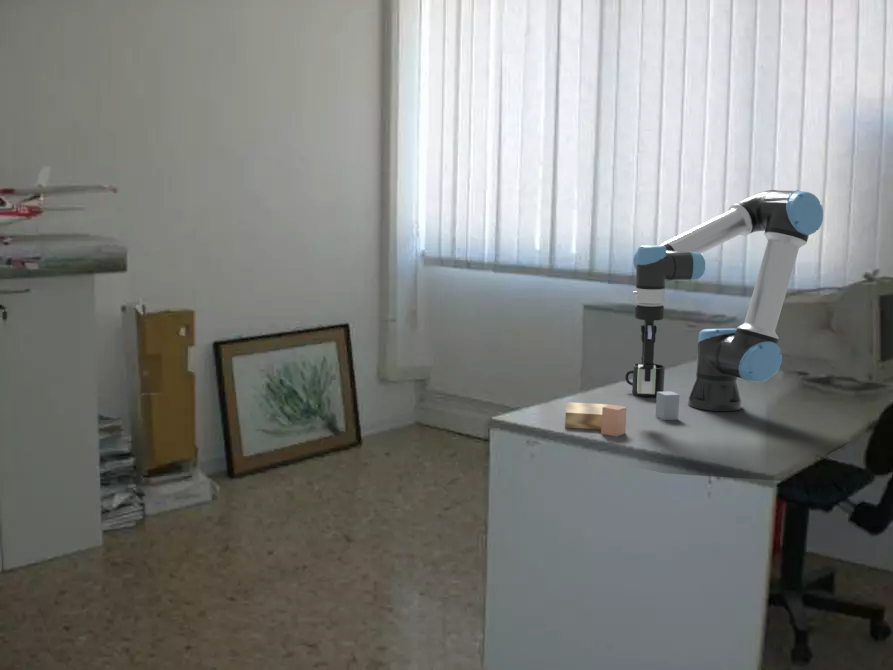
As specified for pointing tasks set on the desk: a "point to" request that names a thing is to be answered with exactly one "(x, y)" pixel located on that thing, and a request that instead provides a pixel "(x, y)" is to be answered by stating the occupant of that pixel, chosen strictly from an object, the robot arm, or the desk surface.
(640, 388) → the sage brick
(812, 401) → the desk surface
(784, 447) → the desk surface
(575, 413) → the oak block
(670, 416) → the slate brick
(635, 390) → the mug
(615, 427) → the terracotta brick
